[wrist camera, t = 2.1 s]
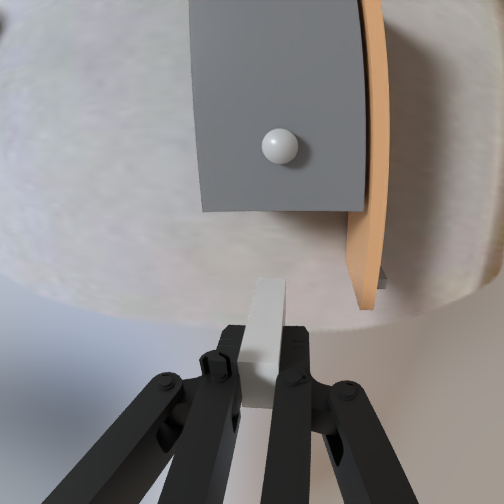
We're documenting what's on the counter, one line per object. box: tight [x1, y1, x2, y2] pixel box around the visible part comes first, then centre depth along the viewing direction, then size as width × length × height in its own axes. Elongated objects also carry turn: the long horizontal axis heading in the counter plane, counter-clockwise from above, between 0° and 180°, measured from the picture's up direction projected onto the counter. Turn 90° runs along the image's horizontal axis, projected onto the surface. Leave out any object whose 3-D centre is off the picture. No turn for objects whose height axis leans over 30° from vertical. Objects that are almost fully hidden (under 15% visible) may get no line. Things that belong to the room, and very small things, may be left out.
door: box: [345, 0, 390, 310], centre depth 20 cm, size 24×2×8 cm, turn 3°
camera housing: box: [189, 0, 366, 212], centre depth 19 cm, size 18×10×9 cm, turn 3°
